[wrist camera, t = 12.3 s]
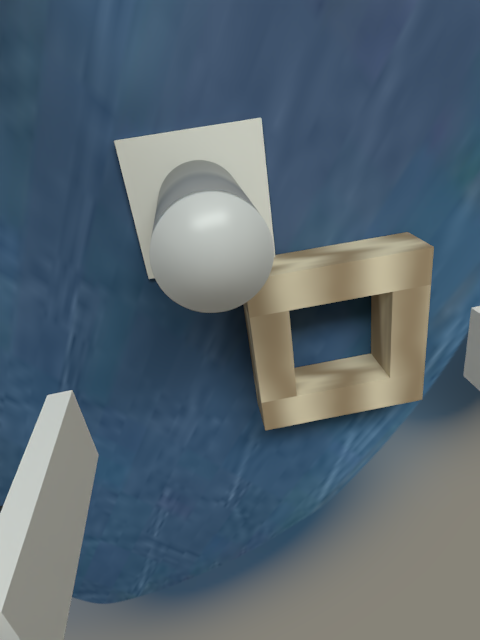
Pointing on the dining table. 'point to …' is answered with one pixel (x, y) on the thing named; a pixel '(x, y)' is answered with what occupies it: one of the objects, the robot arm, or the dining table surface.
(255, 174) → the pad
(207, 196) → the grey domed cylinder
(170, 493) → the dining table surface
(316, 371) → the housing
